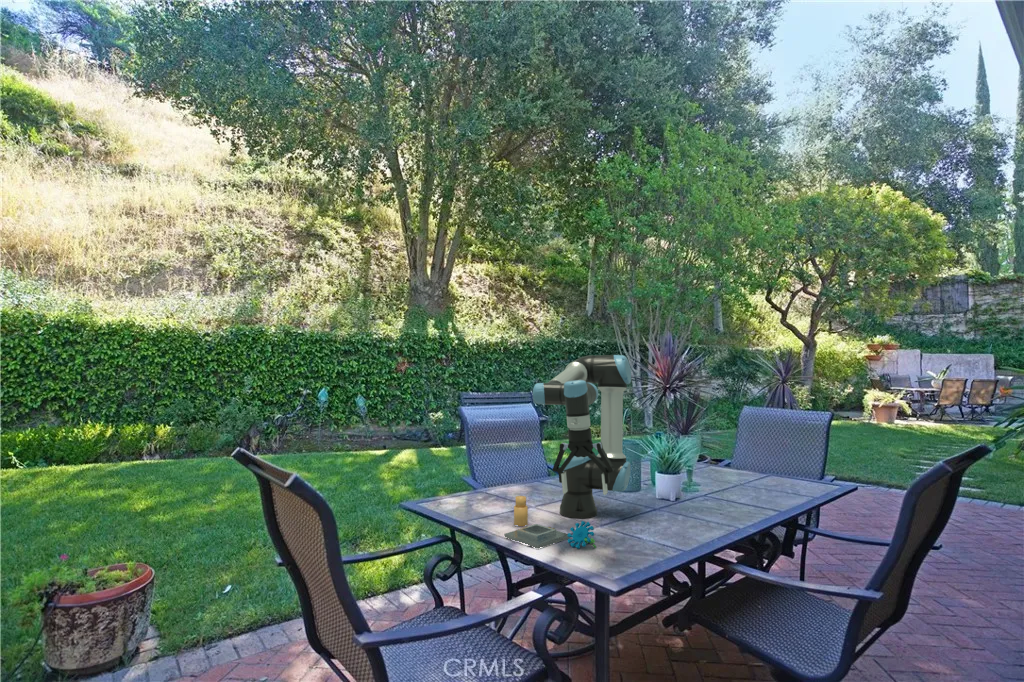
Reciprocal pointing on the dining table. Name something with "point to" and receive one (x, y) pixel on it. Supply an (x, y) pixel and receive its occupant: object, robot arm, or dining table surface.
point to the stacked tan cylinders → (520, 511)
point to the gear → (581, 535)
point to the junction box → (537, 535)
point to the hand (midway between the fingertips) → (585, 493)
